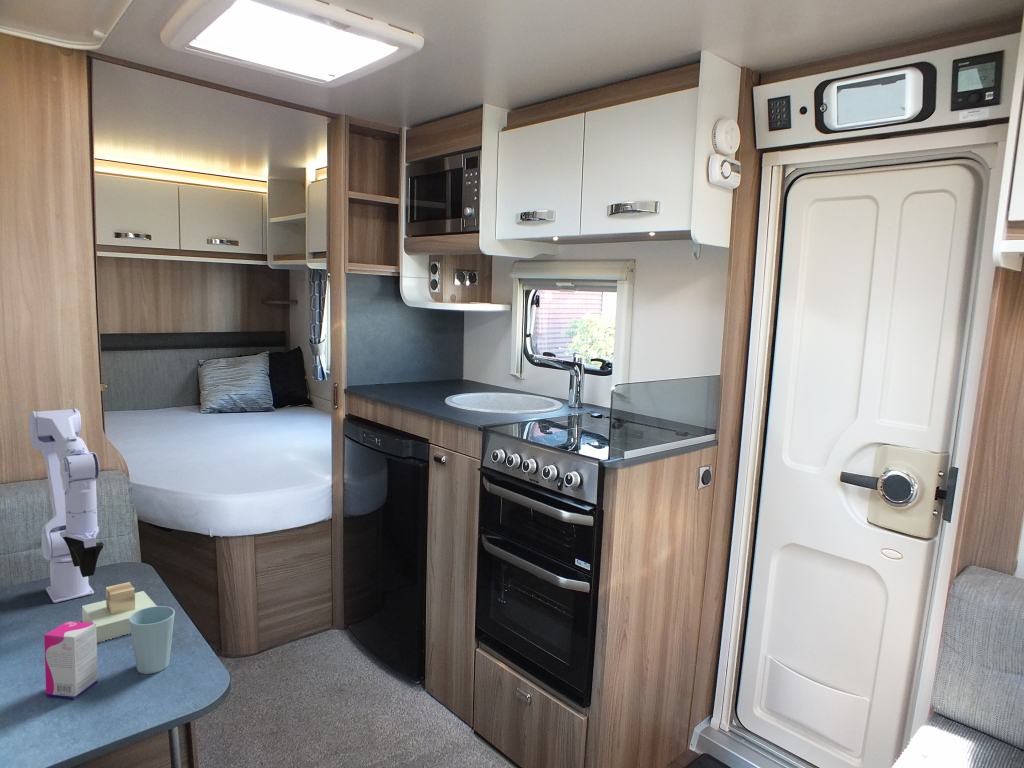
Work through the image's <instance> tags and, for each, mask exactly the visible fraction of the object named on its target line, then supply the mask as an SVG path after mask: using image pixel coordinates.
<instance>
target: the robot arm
mask: <svg viewBox="0 0 1024 768" xmlns="http://www.w3.org/2000/svg"><path fill="white" fill-rule="evenodd" d="M81 417H82V416H81V412H80V411H79V410H78V409H77V408H76V407H75V408H71V409H56V410H55V409H54V410H42V411H41V410H39V411H35V410H32V411H30V413H29V414H28V418H27V419H28V430H29V431H28V432H29V437H30V444H31V445H32V449H33V450H36V451H39V452H41V454H42V457H43V459H44V461H45V462H44V463H45V468H46V475H47V482H48V487H49V495H50V502H51V508H52V509H51V510H52V514H53V515H52V516H53V517H52V518H50V520H49V521H48V522H46V523H45V524H44V525H43V526H42V529H41V531H40V534H41V535H40V536H41V540H40V541H41V542H40V543H41V552H42V556H43V558H44V559H46V560H47V561H49V560H50V564H49V573H50V574H49V575H50V586H47V587H45V591H46V592H47V594H48V595H49V597H50V599H51V601H52V603H59V602H64V601H67V600H73V599H77V598H80V597H85V596H89V595H93V594H94V592H95V590H93V588H92V587H91V585H90V584H89V577H91V576H94V575H95V572H96V568H97V564H98V559H99V555H100V553H101V552H102V550H103V548H104V545H105V544H104V543H103V541H100V542H97V539H96V538H97V535H98V533H99V532H100V527H99V526H98V525H99V524H98V503H97V502H98V500H97V499H98V498H97V480H98V479H99V477H100V476H99V475H100V462H99V458H98V455H97V453H96V452H92V451H90V450H89V449H88V446H87V445H86V443H85V441H84V439H83V438H81V437H80V434H81V429H82V418H81Z"/></svg>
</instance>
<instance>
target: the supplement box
mask: <svg viewBox="0 0 1024 768" xmlns="http://www.w3.org/2000/svg"><path fill="white" fill-rule="evenodd" d="M43 639H44V640H43V644H44V645H43V646H44V669H45V670H44V671H45V673H44V675H45V696H46V698H47V697H48V698H56V699H57V698H59V699H69V700H77V699H78V698H79V697H81V696H82V695H83V694H84V693H86V692H87V691H89V690H90V689H91V688H92V687H93V686H95V685H96V684H97V683H98V682H99V680H98V679H99V677H98V676H99V675H98V674H99V673H98V645H97V644H98V643H97V639H96V623H84V622H83V621H82V622H81V621H73V620H72V621H69V620H68V621H66V622H64V623H63V624H61V625H58V627H56V628H54V629H52V630H50V631H49V632H47V633H46V634H44V635H43Z"/></svg>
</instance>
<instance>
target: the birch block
mask: <svg viewBox="0 0 1024 768" xmlns="http://www.w3.org/2000/svg"><path fill="white" fill-rule="evenodd" d="M135 593H136V590H135V587H134V586H133V585H132V584H131V582H130V581H128V582H123V583H119V584H114V585H110V586H106V587H105V600H106V607H107V609H108V610H109V612H110V614H111V615H114V614H117V613H121V612H125V611H129V610H133V609H135Z"/></svg>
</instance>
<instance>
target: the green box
mask: <svg viewBox="0 0 1024 768" xmlns="http://www.w3.org/2000/svg"><path fill="white" fill-rule="evenodd" d="M154 606H157V605H156V603H155V602H154V600H152V599H151V598H150V596H149V595H148V594H147V593H146V592H145V591H144V590H142V591H137V592H135V609H133V610H129V611H125V612H121V613H117V614H114V615H111V614H110V612H109V610H108V609H107V607H106V599H105V600H101V601H96V602H93V603H89V604H84V605H82V606H81V612H82V616H81V617H82V620H81V621H82V622H84V623H96V639H97V642H100V643H102V641H103V642H106V641H105V640H107V641H109V640H108V639H110V640H113V639H112V638H114V639H116V638H115V637H118V638H120V637H119V636H121V637H123V636H122V635H125V634H128V633H131V629H130V623H129V618H130V616H131V615H132V614H133V613H135V612H137V611H139V610H141V609H144V608H148V607H154ZM128 635H129V634H128ZM125 636H126V635H125Z"/></svg>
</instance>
